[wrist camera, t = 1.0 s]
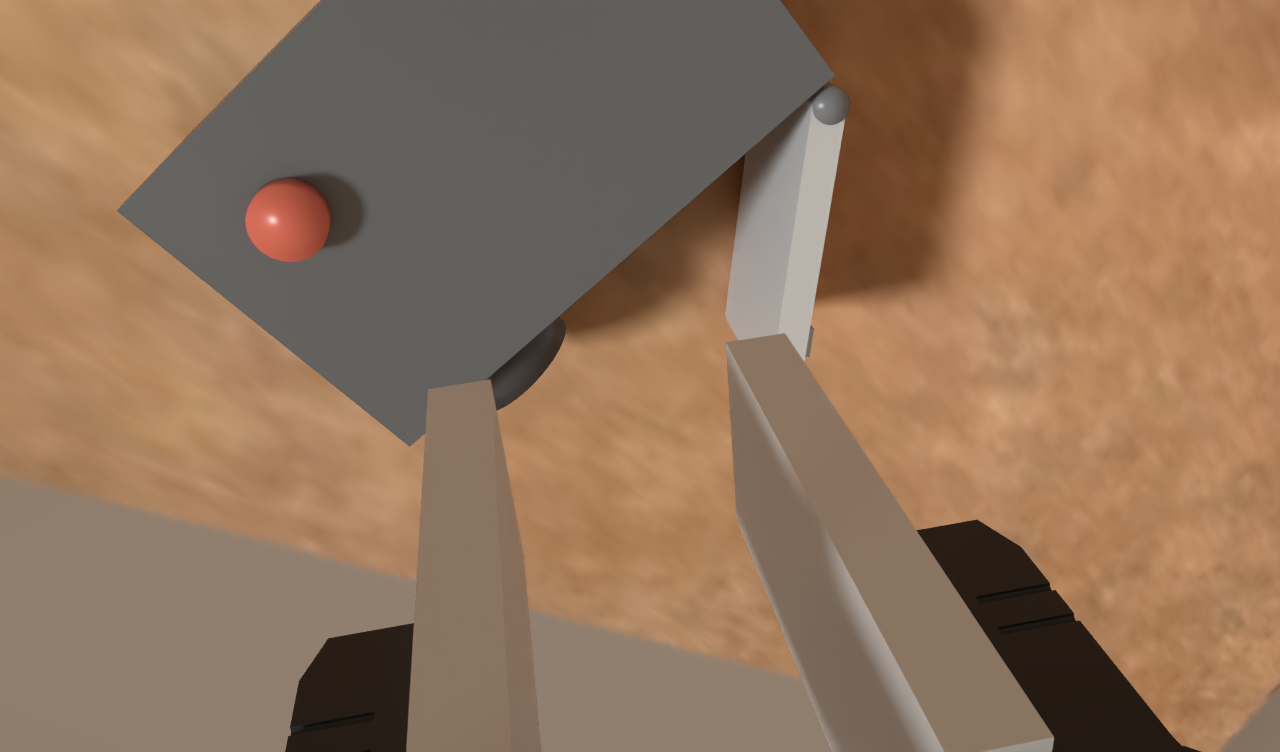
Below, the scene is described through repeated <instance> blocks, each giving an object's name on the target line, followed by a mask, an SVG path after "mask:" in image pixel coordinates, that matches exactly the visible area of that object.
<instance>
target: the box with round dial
mask: <svg viewBox="0 0 1280 752" xmlns="http://www.w3.org/2000/svg"><path fill="white" fill-rule="evenodd" d="M834 76H835V74H834V73H833V71H832V70H831V69H830V67H829V66H828V65H827V63H826V62H825V60H824V59H823V58H822V56H821V55H820V54H819V52H818V51H817V50H816V48H815V47H814V46H813V44H812V43H811V41H810V40H809V39H808V37H807V36H806V35H805V33H804V32H803V31H802V29H801V28H800V26H799V25H798V24H797V22H796V21H795V20H794V18H793V17H792V16H791V14H790V13H789V11H788V10H787V9H786V7H785V6H784V5H783V3H782V2H781V1H780V0H320V1H319V2H318V3H317V4H316V5H315V6H314V7H313V8H312V9H311V10H310V11H309V12H308V14H307V15H306V16H305V17H304V18H303V19H302V20H301V21H300V22H299V23H298V24H297V25H296V26H295V27H294V28H293V29H292V30H291V31H290V32H289V33H288V34H287V35H286V36H285V37H284V38H283V39H282V40H281V41H280V42H279V43H278V44H277V45H276V46H275V47H274V48H273V49H272V50H271V51H270V52H269V53H268V54H267V55H266V56H265V57H264V58H263V59H262V60H261V61H260V62H259V63H258V64H257V66H256V67H255V68H254V69H253V70H252V71H251V72H250V73H249V74H248V75H247V76H246V77H245V78H244V79H243V80H242V81H241V82H240V83H239V84H238V85H237V86H236V87H235V88H234V89H233V90H232V91H231V92H230V93H229V94H228V95H227V96H226V97H225V98H224V99H223V100H222V101H221V102H220V103H219V104H218V105H217V106H216V107H215V108H214V109H213V110H212V111H211V112H210V113H209V114H208V115H207V117H206V118H205V119H204V120H203V121H202V122H201V123H200V124H199V125H198V126H197V127H196V128H195V129H194V130H193V131H192V132H191V133H190V134H189V135H188V136H187V137H186V138H185V139H184V140H183V141H182V142H181V143H180V144H179V145H178V146H177V147H176V148H175V149H174V151H173V152H172V153H171V154H170V155H169V156H168V157H167V158H166V159H165V160H164V161H163V162H162V163H161V164H160V165H159V166H158V167H157V168H156V170H155V171H154V172H153V173H152V174H151V175H150V176H149V177H148V178H147V179H146V180H145V181H144V182H143V183H142V184H141V185H140V186H139V188H138V189H137V190H136V191H135V192H134V193H133V194H132V195H131V196H130V197H129V198H128V199H127V200H126V201H125V202H124V203H123V204H122V206H121V207H120V208H119V209H118V210H117V211H118V212H119V213H120V214H121V215H123V216H124V217H125V218H126V219H128V220H129V221H130V222H131V223H133V224H134V225H135V226H136V227H137V228H139V229H140V230H141V231H142V232H144V233H145V234H146V235H147V236H149V237H150V238H151V239H152V240H154V241H155V242H156V243H157V244H159V245H160V246H161V247H162V248H164V249H165V250H166V251H167V252H169V253H170V254H171V255H172V256H174V257H175V258H176V259H177V260H179V261H180V262H181V263H182V264H183V265H185V266H186V267H187V268H188V269H190V270H191V271H192V272H193V273H195V274H196V275H197V276H198V277H200V278H201V279H202V280H203V281H205V282H206V283H207V284H208V285H210V286H211V287H212V288H213V289H215V290H216V291H217V292H218V293H220V294H221V295H222V296H223V297H224V298H226V299H227V300H228V301H229V302H231V303H232V304H233V305H234V306H236V307H237V308H238V309H239V310H241V311H242V312H243V313H244V314H246V315H247V316H248V317H249V318H251V319H252V320H253V321H254V322H256V323H257V324H258V325H259V326H261V327H262V328H263V329H264V330H265V331H267V332H268V333H269V334H270V335H272V336H273V337H274V338H275V339H277V340H278V341H279V342H280V343H282V344H283V345H284V346H285V347H287V348H288V349H289V350H290V351H292V352H293V353H294V354H295V355H297V356H298V357H299V358H300V359H302V360H303V361H304V362H305V363H307V364H308V365H309V366H310V367H311V368H313V369H314V370H315V371H316V372H318V373H319V374H320V375H321V376H323V377H324V378H325V379H326V380H328V381H329V382H330V383H331V384H333V385H334V386H335V387H336V388H338V389H339V390H340V391H341V392H343V393H344V394H345V395H346V396H348V397H349V398H350V399H351V400H352V401H354V402H355V403H356V404H357V405H359V406H360V407H361V408H362V409H364V410H365V411H366V412H367V413H369V414H370V415H371V416H372V417H374V418H375V419H376V420H377V421H379V422H380V423H381V424H382V425H384V426H385V427H386V428H387V429H389V430H390V431H391V432H392V433H393V434H395V435H396V436H397V437H398V438H400V439H401V440H402V441H403V442H405V443H406V444H407V445H408V446H411V445H412V444H413V443H414V442H415V441H417V440H418V439H419V438H420V437H421V436H422V435H423V434H425V432H426V416H427V399H428V389H432V388H439V387H445V386H451V385H458V384H464V383H470V382H477V381H483V380H490V379H491V384H492V390H493V395H494V400H495V406H496V411H497V410H499V409H501V408H503V407H505V406H507V405H508V404H510V403H511V402H513V401H514V400H516V399H517V398H518V397H519V396H521V395H522V394H523V393H524V392H525V391H526V390H528V389H529V388H530V387H531V386H532V385H533V384H534V383H535V382H536V381H537V379H538V378H539V377H540V376H541V375H542V374H543V373H544V371H545V370H546V369H547V368H548V366H549V365H550V363H551V362H552V361H553V359H554V357H555V356H556V354H557V352H558V351H559V349H560V347H561V345H562V342H563V339H564V336H565V331H566V325H565V322H564V321H563V320H562V319H561V318H560V317H559V316H560V315H561V314H562V313H563V312H564V311H566V310H567V309H568V308H569V307H570V306H571V305H572V304H574V303H575V302H576V301H577V300H578V299H579V298H580V297H582V296H583V295H584V294H585V293H586V292H587V291H588V290H590V289H591V288H592V287H593V286H594V285H595V284H596V283H598V282H599V281H600V280H601V279H602V278H603V277H604V276H606V275H607V274H608V273H609V272H610V271H611V270H613V269H614V268H615V267H616V266H617V265H618V264H619V263H621V262H622V261H623V260H624V259H625V258H626V257H627V256H629V255H630V254H631V253H632V252H633V251H634V250H635V249H637V248H638V247H639V246H640V245H641V244H642V243H643V242H645V241H646V240H647V239H648V238H649V237H650V236H651V235H653V234H654V233H655V232H656V231H657V230H658V229H659V228H661V227H662V226H663V225H664V224H665V223H666V222H668V221H669V220H670V219H671V218H672V217H673V216H674V215H676V214H677V213H678V212H679V211H680V210H681V209H682V208H684V207H685V206H686V205H687V204H688V203H689V202H690V201H692V200H693V199H694V198H695V197H696V196H697V195H698V194H700V193H701V192H702V191H703V190H704V189H705V188H706V187H708V186H709V185H710V184H711V183H712V182H713V181H715V180H716V179H717V178H718V177H719V176H720V175H721V174H723V173H724V172H725V171H726V170H727V169H728V168H729V167H731V166H732V165H733V164H734V163H735V162H736V161H737V160H739V159H740V158H741V157H742V156H743V155H744V154H745V153H747V152H748V151H749V150H750V149H751V148H752V147H753V146H755V145H756V144H757V143H758V142H759V141H760V140H761V139H763V138H764V137H765V136H766V135H767V134H768V133H770V132H771V131H772V130H773V129H774V128H775V127H776V126H778V125H779V124H780V123H781V122H782V121H783V120H784V119H786V118H787V117H788V116H789V115H790V114H791V113H792V112H794V111H795V110H796V109H797V108H798V107H799V106H800V105H802V104H803V103H804V102H805V101H806V100H807V99H808V98H810V97H811V96H812V95H813V94H814V93H815V92H817V91H818V90H819V89H820V88H821V87H822V86H823V85H825V84H826V83H827V82H828V81H829V80H830V79H831V78H833V77H834Z"/></svg>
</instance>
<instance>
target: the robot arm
mask: <svg viewBox="0 0 1280 752" xmlns="http://www.w3.org/2000/svg"><path fill="white" fill-rule="evenodd" d="M726 353H727V370H728V386H729V402H730V419H731V435H732V451H733V467H734V484H735V500H736V516H737V522H738V524H739V527H740V529H741V531H742V534H743V536H744V539H745V541H746V544H747V546H748V549H749V551H750V553H751V556H752V558H753V561H754V563H755V566H756V568H757V571H758V573H759V575H760V578H761V580H762V583H763V585H764V588H765V590H766V592H767V595H768V597H769V600H770V602H771V605H772V607H773V610H774V612H775V614H776V617H777V619H778V622H779V624H780V627H781V629H782V632H783V634H784V636H785V639H786V641H787V644H788V646H789V649H790V651H791V654H792V656H793V658H794V661H795V663H796V666H797V668H798V671H799V673H800V675H801V678H802V680H803V683H804V685H805V688H806V690H807V692H808V695H809V697H810V700H811V702H812V705H813V707H814V710H815V712H816V715H817V717H818V719H819V722H820V724H821V727H822V729H823V732H824V734H825V736H826V739H827V741H828V744H829V746H830V749H831V751H832V752H1200V751H1197V750H1194V749H1192V748H1189V747H1186V746H1181V745H1180V744H1179V743H1178V742H1177V741H1176V740H1175V738H1174V737H1173V736H1172V735H1171V734H1170V733H1169V732H1168V730H1167V729H1166V728H1165V727H1164V725H1163V724H1162V723H1161V722H1160V720H1159V719H1158V718H1157V717H1156V715H1155V714H1154V713H1153V712H1152V710H1151V709H1150V708H1149V707H1148V705H1147V704H1146V703H1145V702H1144V700H1143V699H1142V698H1141V697H1140V695H1139V694H1138V693H1137V692H1136V690H1135V689H1134V688H1133V687H1132V685H1131V684H1130V683H1129V682H1128V680H1127V679H1126V678H1125V677H1124V675H1123V674H1122V673H1121V672H1120V670H1119V669H1118V668H1117V667H1116V665H1115V664H1114V663H1113V661H1112V660H1111V659H1110V658H1109V656H1108V655H1107V654H1106V653H1105V651H1104V650H1103V649H1102V648H1101V646H1100V645H1099V644H1098V643H1097V641H1096V640H1095V639H1094V638H1093V636H1092V635H1091V634H1090V633H1089V631H1088V630H1087V629H1086V628H1085V626H1084V625H1083V624H1082V623H1081V621H1076V620H1075V618H1074V613H1073V611H1072V610H1071V609H1070V608H1069V606H1068V605H1067V604H1066V603H1065V601H1064V600H1063V599H1062V598H1061V596H1060V595H1059V594H1058V593H1057V591H1056V590H1053V591H1052V590H1051V588H1050V583H1049V581H1048V580H1047V579H1046V578H1045V576H1044V575H1043V574H1042V573H1041V571H1040V570H1039V569H1038V568H1037V566H1036V565H1035V564H1034V563H1033V561H1032V560H1031V559H1030V558H1029V556H1028V555H1027V554H1026V553H1025V551H1024V550H1023V549H1022V548H1021V547H1020V546H1019V545H1017V544H1015V543H1014V542H1012V541H1011V540H1009V539H1007V538H1006V537H1004V536H1002V535H1001V534H999V533H998V532H996V531H994V530H993V529H991V528H990V527H988V526H986V525H985V524H983V523H982V522H980V521H978V520H973V521H967V522H961V523H956V524H950V525H944V526H939V527H933V528H928V529H922V530H916V529H915V528H914V526H913V525H912V523H911V522H910V520H909V519H908V517H907V516H906V514H905V513H904V511H903V510H902V508H901V507H900V505H899V504H898V502H897V501H896V499H895V498H894V496H893V495H892V493H891V492H890V490H889V489H888V487H887V486H886V484H885V483H884V481H883V480H882V478H881V477H880V475H879V474H878V472H877V471H876V469H875V468H874V466H873V465H872V463H871V461H870V460H869V458H868V457H867V455H866V454H865V452H864V451H863V449H862V448H861V446H860V445H859V443H858V442H857V440H856V439H855V437H854V436H853V434H852V433H851V431H850V430H849V428H848V427H847V425H846V424H845V422H844V421H843V419H842V418H841V416H840V415H839V413H838V412H837V410H836V409H835V407H834V406H833V404H832V403H831V401H830V400H829V398H828V397H827V395H826V394H825V392H824V391H823V389H822V388H821V386H820V385H819V383H818V382H817V380H816V379H815V377H814V376H813V374H812V373H811V371H810V370H809V368H808V367H807V365H806V364H805V362H804V361H803V359H802V358H801V356H800V355H799V353H798V352H797V350H796V349H795V347H794V346H793V344H792V343H791V341H790V340H789V338H788V337H787V335H786V334H785V333H782V334H776V335H770V336H763V337H757V338H751V339H744V340H738V341H731V342H726ZM290 728H291V736H288V741H287V746H286V751H285V752H541V743H540V732H539V721H538V710H537V698H536V687H535V676H534V664H533V653H532V641H531V631H530V619H529V608H528V596H527V585H526V574H525V563H524V554H523V549H522V544H521V538H520V533H519V528H518V522H517V517H516V512H515V506H514V501H513V496H512V490H511V485H510V480H509V475H508V469H507V464H506V459H505V453H504V448H503V443H502V437H501V432H500V427H499V421H498V416H497V411H496V406H495V400H494V395H493V390H492V384H491V379H490V380H483V381H477V382H470V383H464V384H458V385H451V386H445V387H439V388H432V389H428V399H427V416H426V432H425V449H424V465H423V482H422V498H421V515H420V531H419V548H418V565H417V581H416V599H415V614H414V623H413V624H407V625H401V626H396V627H390V628H385V629H379V630H373V631H367V632H362V633H356V634H350V635H345V636H339V637H334V638H328V640H327V641H326V643H325V644H324V646H323V647H322V649H321V650H320V652H319V653H318V654H317V656H316V657H315V659H314V660H313V662H312V663H311V665H310V666H309V667H308V669H307V670H306V672H305V673H304V675H303V676H302V678H301V679H300V681H299V684H298V689H297V694H296V700H295V705H294V710H293V716H292V720H291V725H290Z"/></svg>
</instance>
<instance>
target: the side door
mask: <svg viewBox="0 0 1280 752" xmlns="http://www.w3.org/2000/svg"><path fill="white" fill-rule="evenodd" d="M849 109H850V100H849V97H848V96H847V94H846V93H845V92H844V91H842V90H841V89H839V88H838V87H836V86H835V85H833V84H831V83H830V82H827V83H826V84H825V85H823V86H822V87H821V88H820V89H819V90H818V91H817V92H815V93H814V94H813V95H812V96H811V97H810V98H808V99H807V100H806V101H805V102H804V103H803V104H802V105H800V106H799V107H798V108H797V109H796V110H795V111H794V112H792V113H791V114H790V115H789V116H788V117H787V118H786V119H784V120H783V121H782V122H781V123H780V124H779V125H778V126H776V127H775V128H774V129H773V130H772V131H771V132H770V133H768V134H767V135H766V136H765V137H764V138H763V139H761V140H760V141H759V142H758V143H757V144H756V145H755V146H753V147H752V148H751V149H750V150H749V151H748V152H747V153H746V154H745V162H744V170H743V178H742V186H741V193H740V201H739V209H738V217H737V225H736V233H735V241H734V249H733V257H732V265H731V273H730V281H729V289H728V297H727V305H726V313H725V317H726V319H727V321H728V322H729V324H730V326H731V328H732V330H733V331H734V333H735V335H736V337H737V338H738V340H744V339H751V338H757V337H763V336H770V335H776V334H782V333H785V334H786V335H787V337H788V338H789V340H790V341H791V343H792V344H793V346H794V347H795V349H796V350H797V352H798V353H799V355H800V356H801V358H802V359H803V361H805V357H809V355H810V349H811V343H812V337H813V331H814V328H813V327H812V326H811V319H812V313H813V307H814V302H815V296H816V290H817V284H818V278H819V272H820V266H821V260H822V254H823V248H824V242H825V236H826V230H827V224H828V218H829V212H830V206H831V200H832V194H833V188H834V182H835V177H836V171H837V165H838V159H839V153H840V147H841V141H842V135H843V129H844V123H845V117H846V116H847V114H848V112H849Z"/></svg>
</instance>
